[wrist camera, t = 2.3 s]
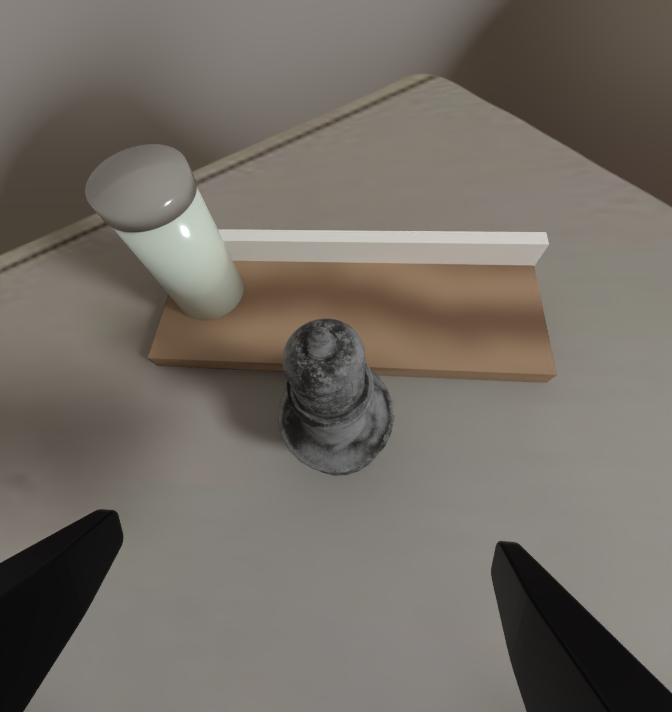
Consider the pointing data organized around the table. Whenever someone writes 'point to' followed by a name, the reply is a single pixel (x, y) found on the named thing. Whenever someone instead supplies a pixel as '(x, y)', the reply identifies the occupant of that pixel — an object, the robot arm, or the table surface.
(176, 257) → the sage ceramic jar
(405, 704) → the table surface
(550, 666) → the robot arm
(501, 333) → the shelf board
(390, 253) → the rail
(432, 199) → the table surface
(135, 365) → the table surface
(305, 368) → the grey chess piece
